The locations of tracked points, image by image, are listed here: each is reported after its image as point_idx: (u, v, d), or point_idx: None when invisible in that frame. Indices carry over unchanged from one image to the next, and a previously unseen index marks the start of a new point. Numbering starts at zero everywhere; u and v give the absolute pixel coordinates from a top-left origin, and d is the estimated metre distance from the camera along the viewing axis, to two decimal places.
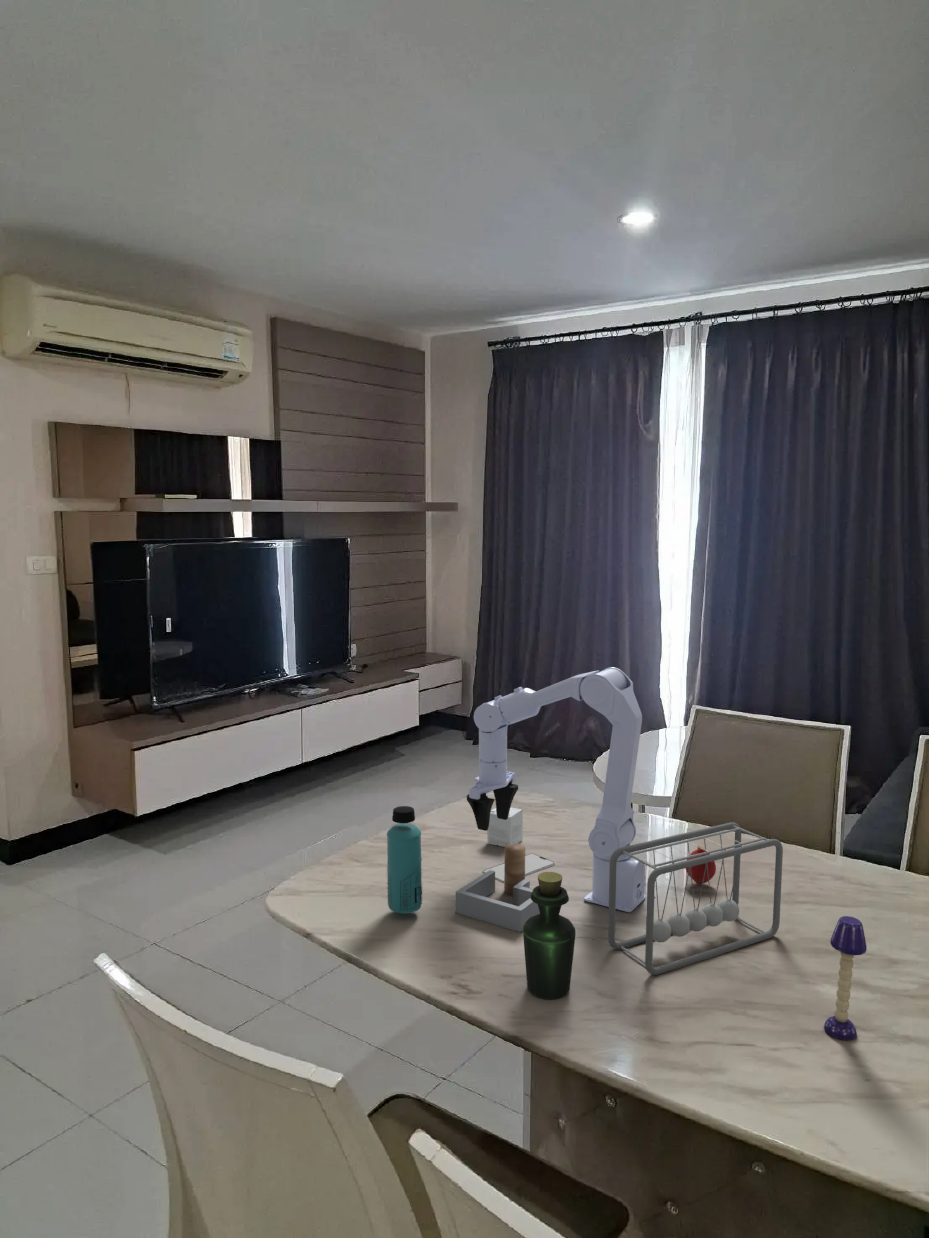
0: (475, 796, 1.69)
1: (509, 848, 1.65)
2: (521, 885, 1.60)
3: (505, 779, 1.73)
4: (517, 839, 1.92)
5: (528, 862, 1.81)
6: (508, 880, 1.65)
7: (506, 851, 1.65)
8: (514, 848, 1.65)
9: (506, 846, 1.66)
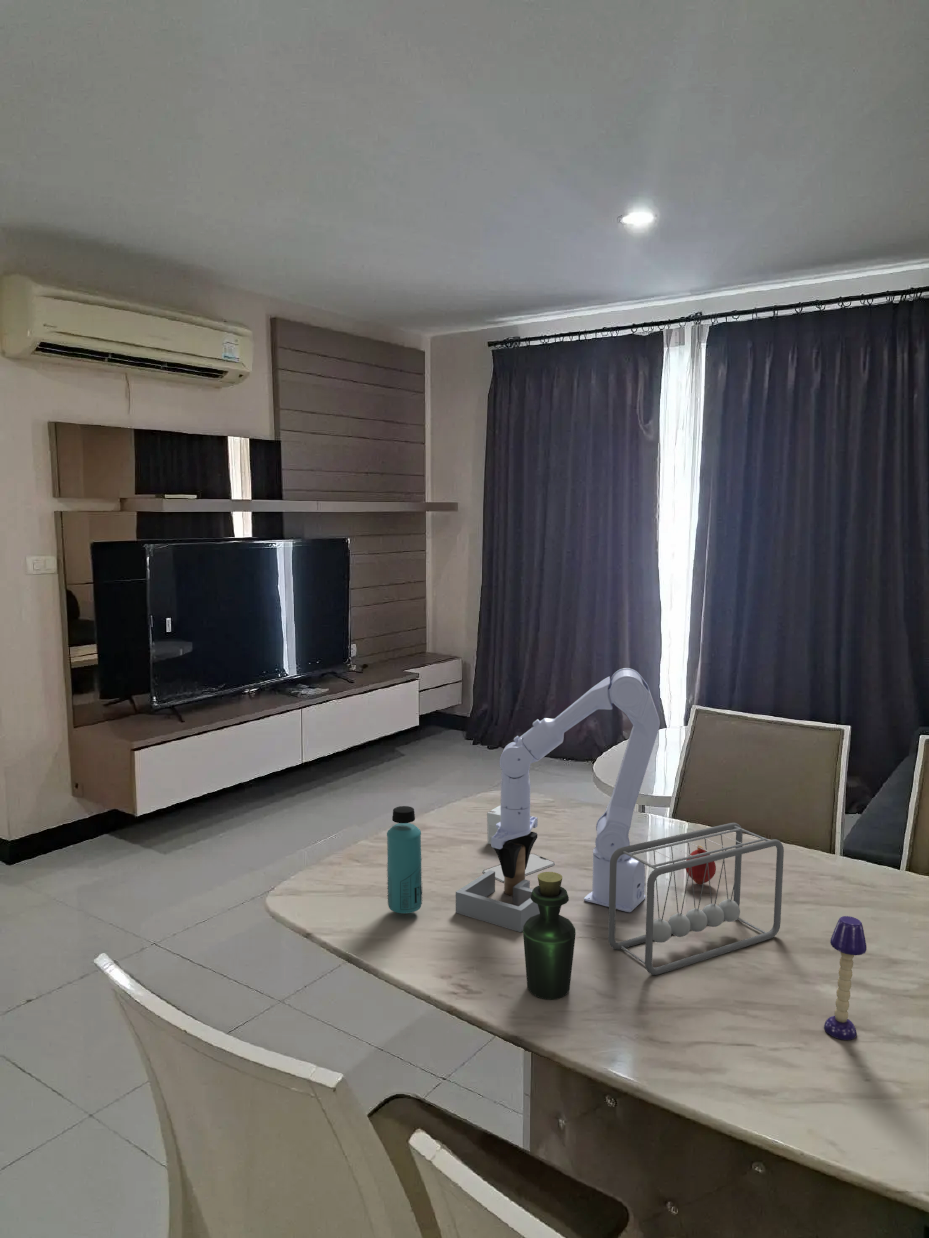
0: (497, 845, 1.59)
1: None
2: (521, 885, 1.60)
3: (528, 826, 1.64)
4: None
5: (528, 862, 1.81)
6: (508, 880, 1.65)
7: None
8: None
9: None
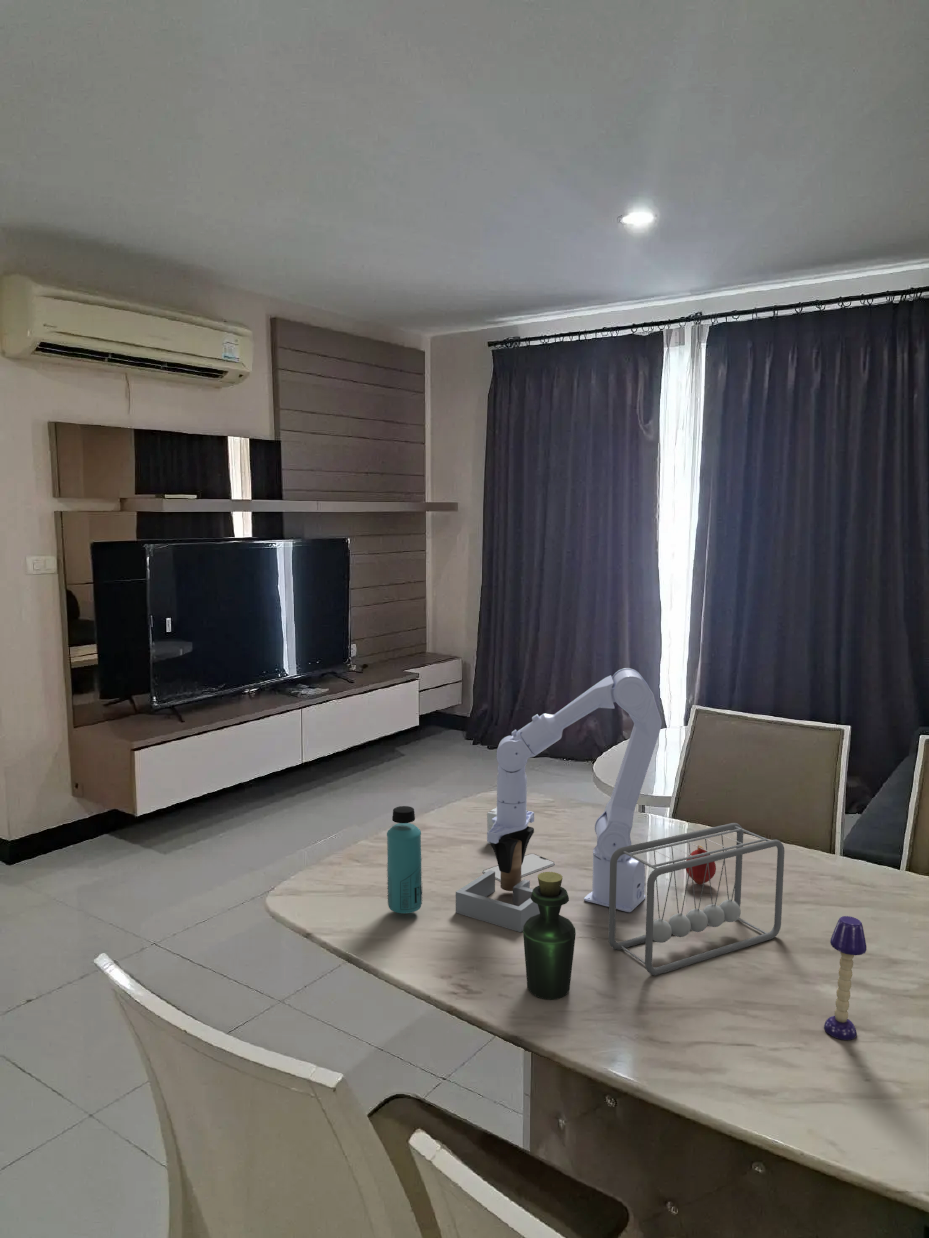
0: (493, 840, 1.58)
1: None
2: (521, 885, 1.60)
3: (525, 821, 1.63)
4: None
5: (528, 862, 1.81)
6: (505, 875, 1.64)
7: None
8: None
9: None
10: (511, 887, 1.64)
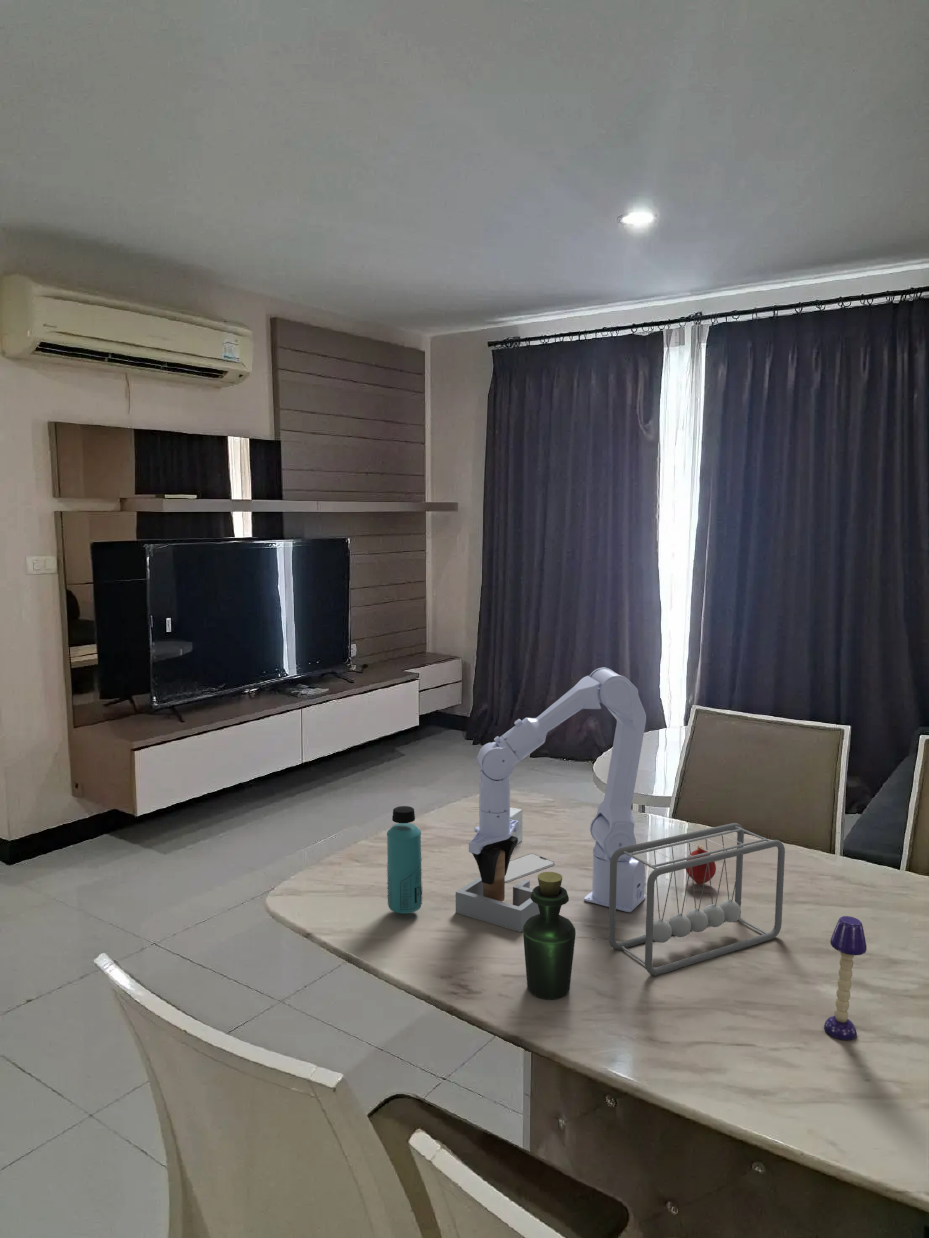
0: (475, 850, 1.53)
1: None
2: (521, 885, 1.60)
3: (508, 830, 1.58)
4: None
5: (528, 862, 1.81)
6: (487, 886, 1.59)
7: None
8: None
9: None
10: (494, 899, 1.58)
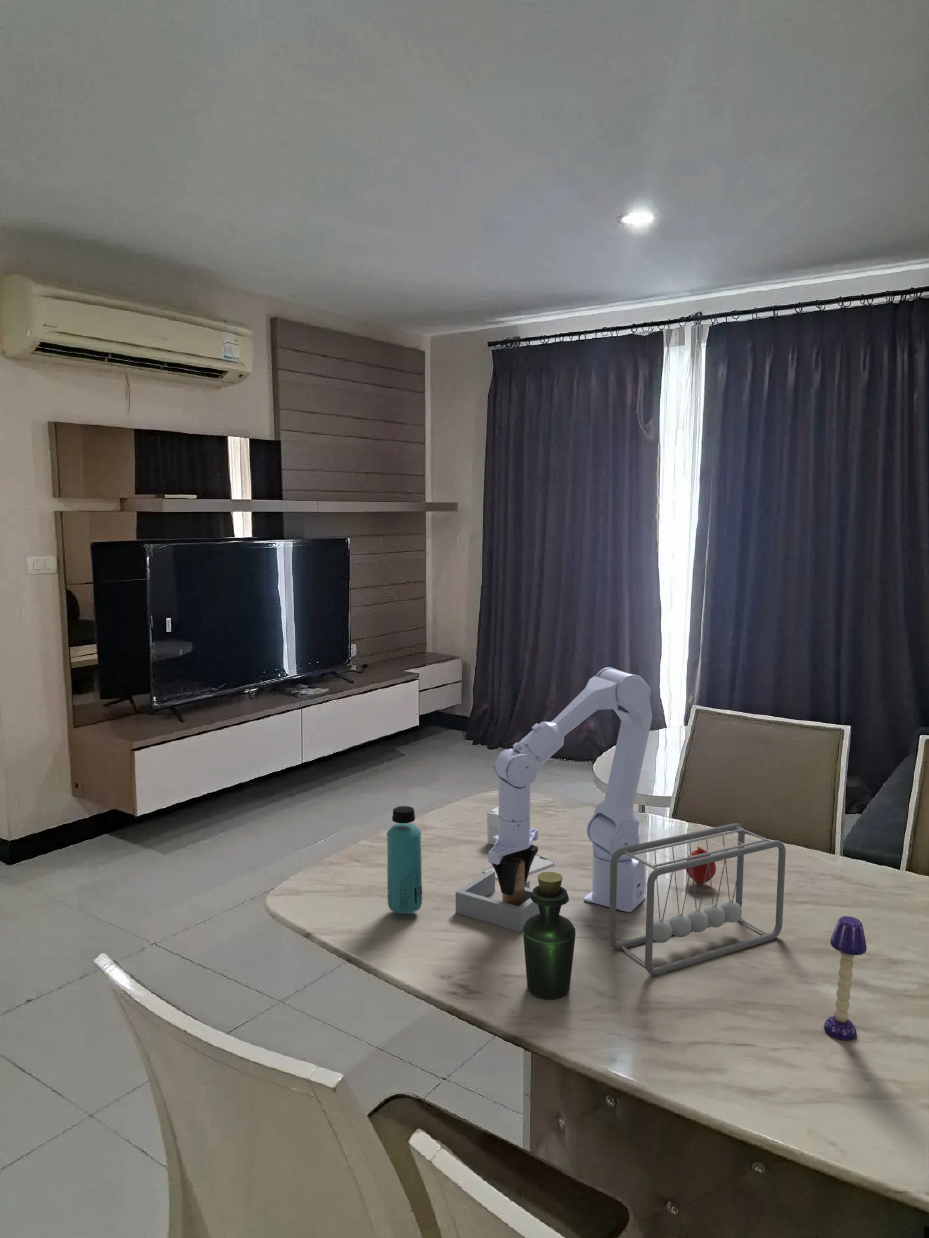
0: (495, 861, 1.49)
1: None
2: None
3: (528, 839, 1.53)
4: None
5: None
6: (507, 897, 1.54)
7: None
8: None
9: None
10: None
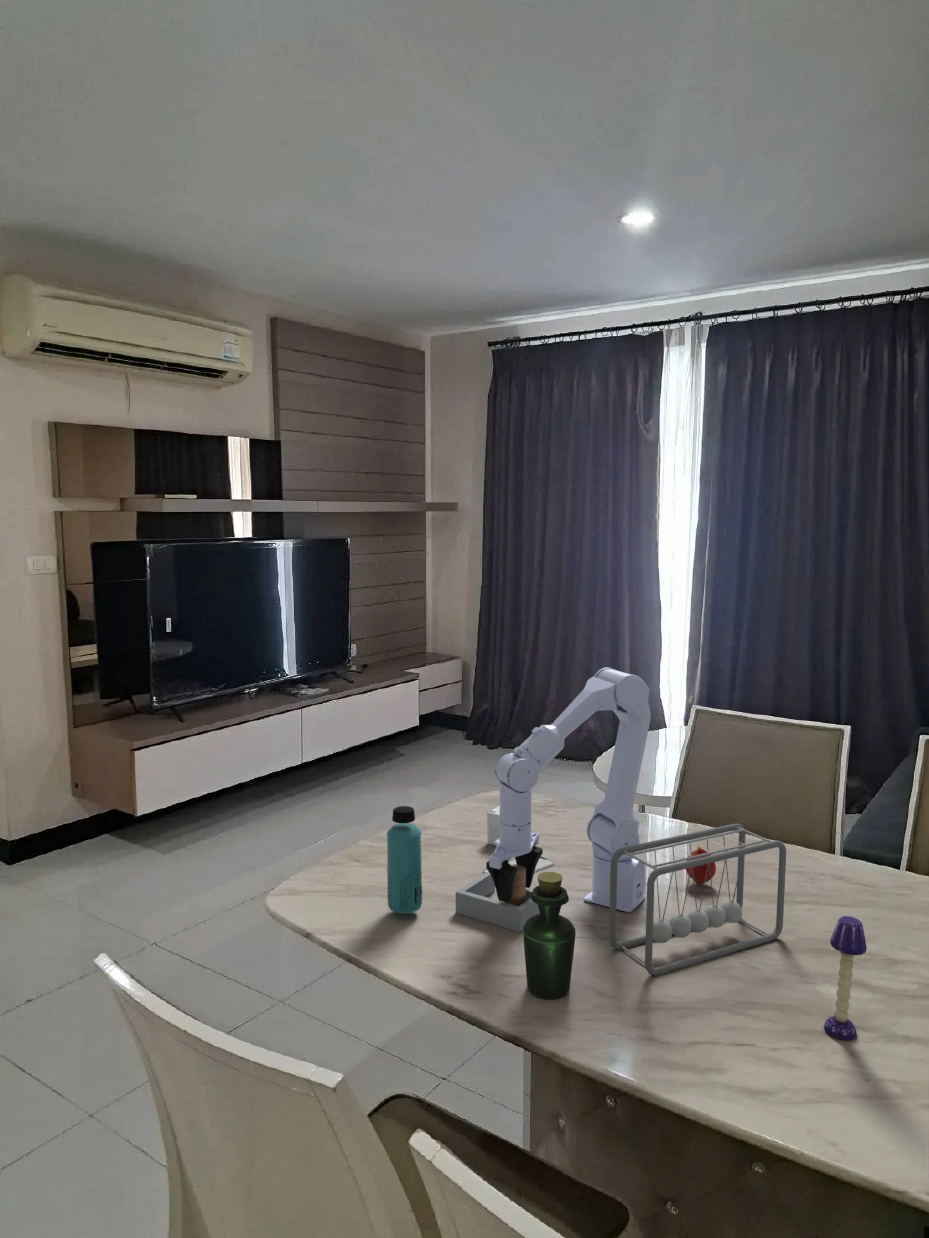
0: (496, 865, 1.49)
1: None
2: None
3: (529, 844, 1.53)
4: None
5: None
6: None
7: None
8: None
9: None
10: None
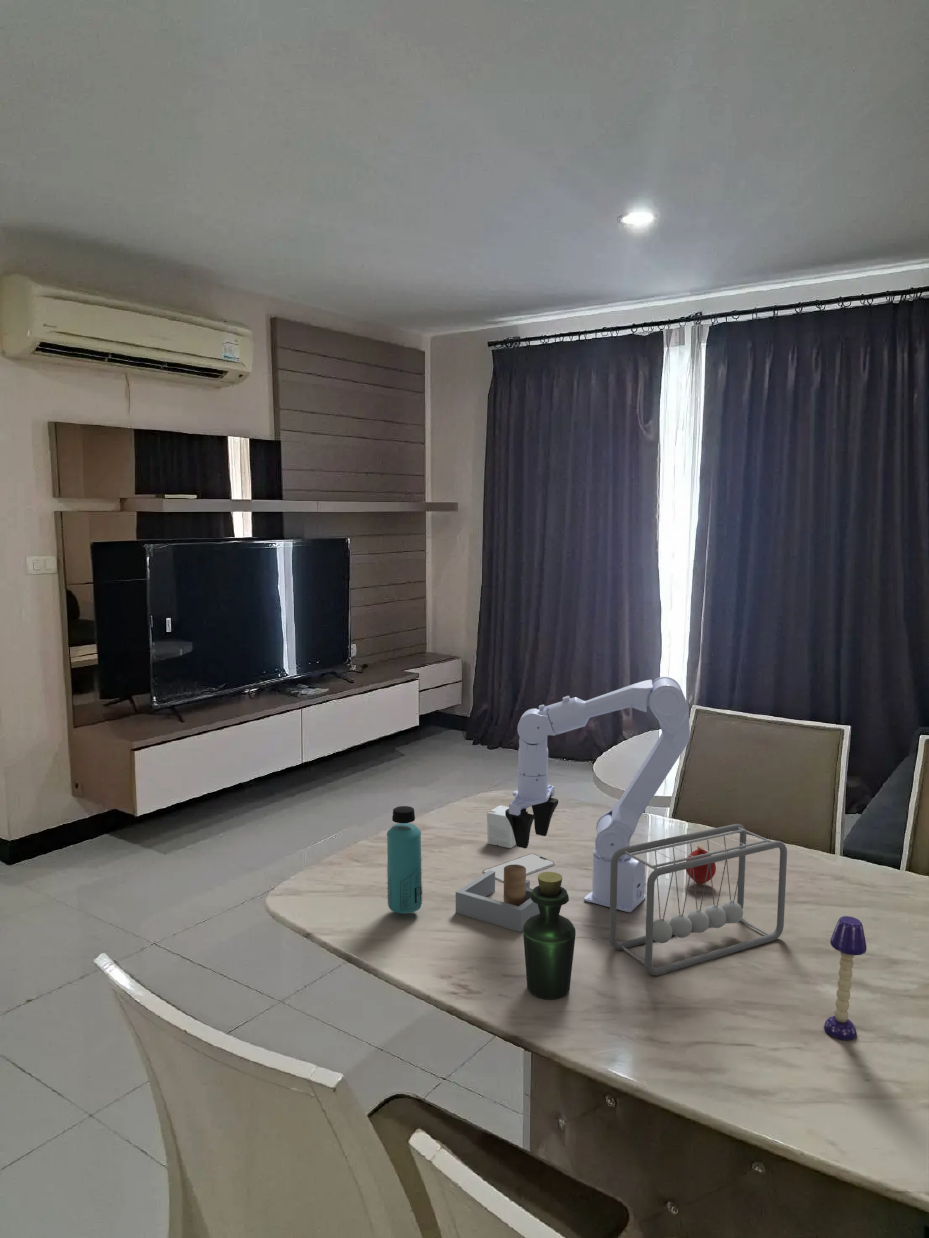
0: (515, 812, 1.58)
1: (509, 870, 1.54)
2: None
3: (546, 793, 1.63)
4: None
5: (528, 862, 1.81)
6: None
7: (505, 873, 1.54)
8: (514, 870, 1.54)
9: (505, 868, 1.55)
10: None
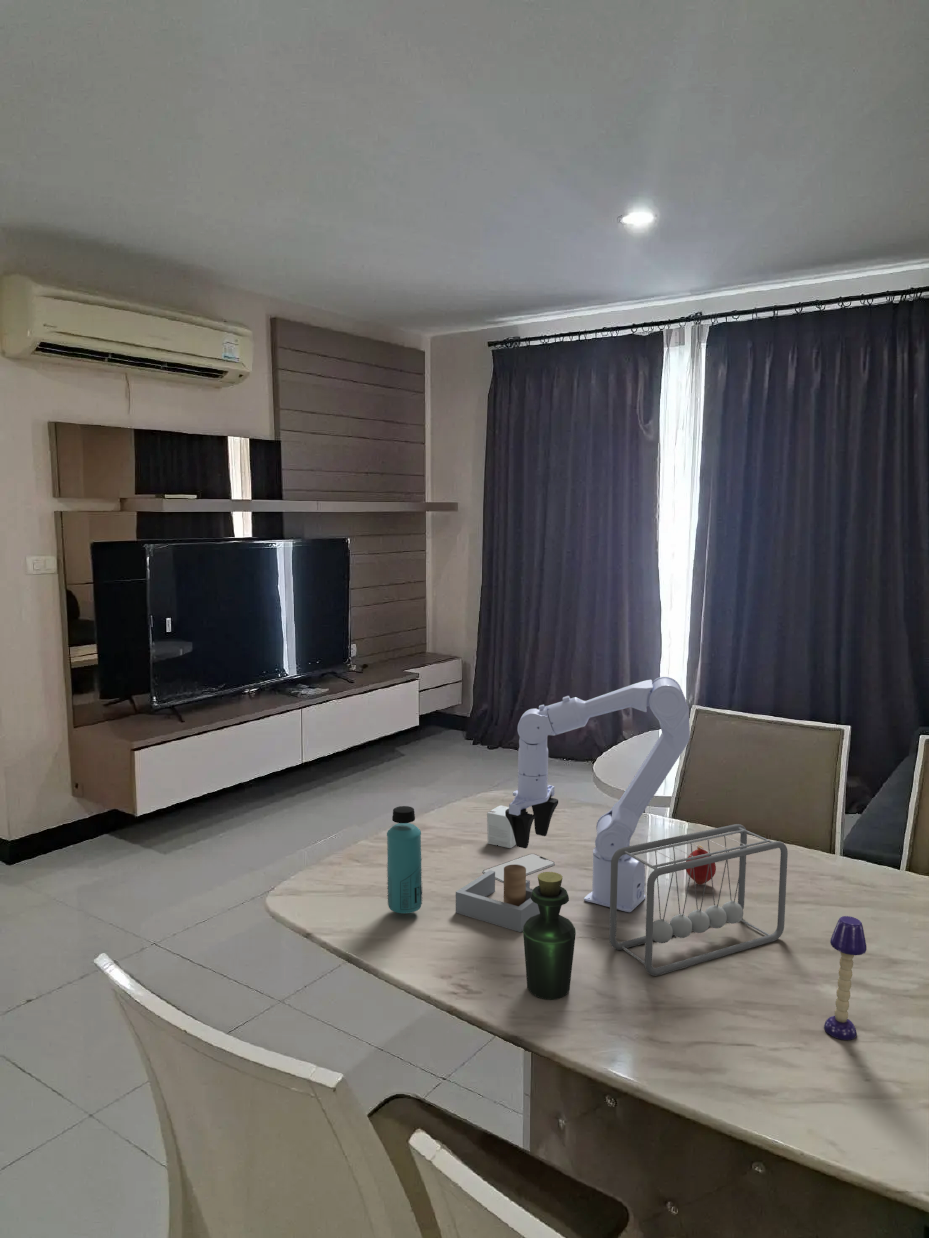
0: (515, 812, 1.58)
1: (509, 870, 1.54)
2: None
3: (546, 793, 1.63)
4: None
5: (528, 862, 1.81)
6: None
7: (505, 873, 1.54)
8: (514, 870, 1.54)
9: (505, 868, 1.55)
10: None
